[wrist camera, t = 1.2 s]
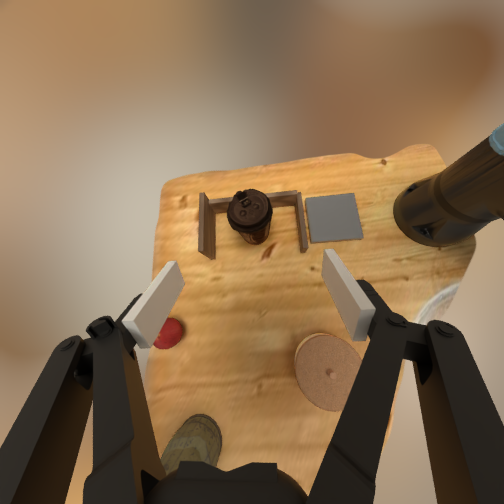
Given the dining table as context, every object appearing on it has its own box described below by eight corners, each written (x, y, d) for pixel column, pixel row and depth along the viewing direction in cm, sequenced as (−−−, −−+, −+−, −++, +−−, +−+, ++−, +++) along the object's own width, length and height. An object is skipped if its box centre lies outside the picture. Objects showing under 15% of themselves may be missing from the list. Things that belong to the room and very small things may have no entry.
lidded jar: (346, 332, 37) (370, 342, 28) (347, 393, 35) (373, 426, 26) (292, 324, 39) (298, 332, 30) (289, 382, 36) (294, 410, 27)
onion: (167, 348, 40) (142, 360, 33) (160, 322, 42) (135, 327, 34) (191, 338, 40) (172, 347, 33) (184, 312, 42) (164, 315, 34)
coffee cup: (242, 213, 46) (230, 181, 34) (275, 217, 45) (276, 186, 32) (235, 246, 44) (220, 225, 32) (269, 251, 43) (268, 232, 30)
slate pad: (351, 195, 44) (353, 193, 43) (361, 239, 41) (363, 237, 40) (304, 200, 45) (305, 198, 44) (310, 243, 42) (311, 241, 41)
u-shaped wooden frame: (298, 201, 45) (303, 181, 38) (305, 252, 42) (312, 241, 34) (211, 210, 47) (199, 192, 40) (211, 259, 44) (198, 251, 36)
